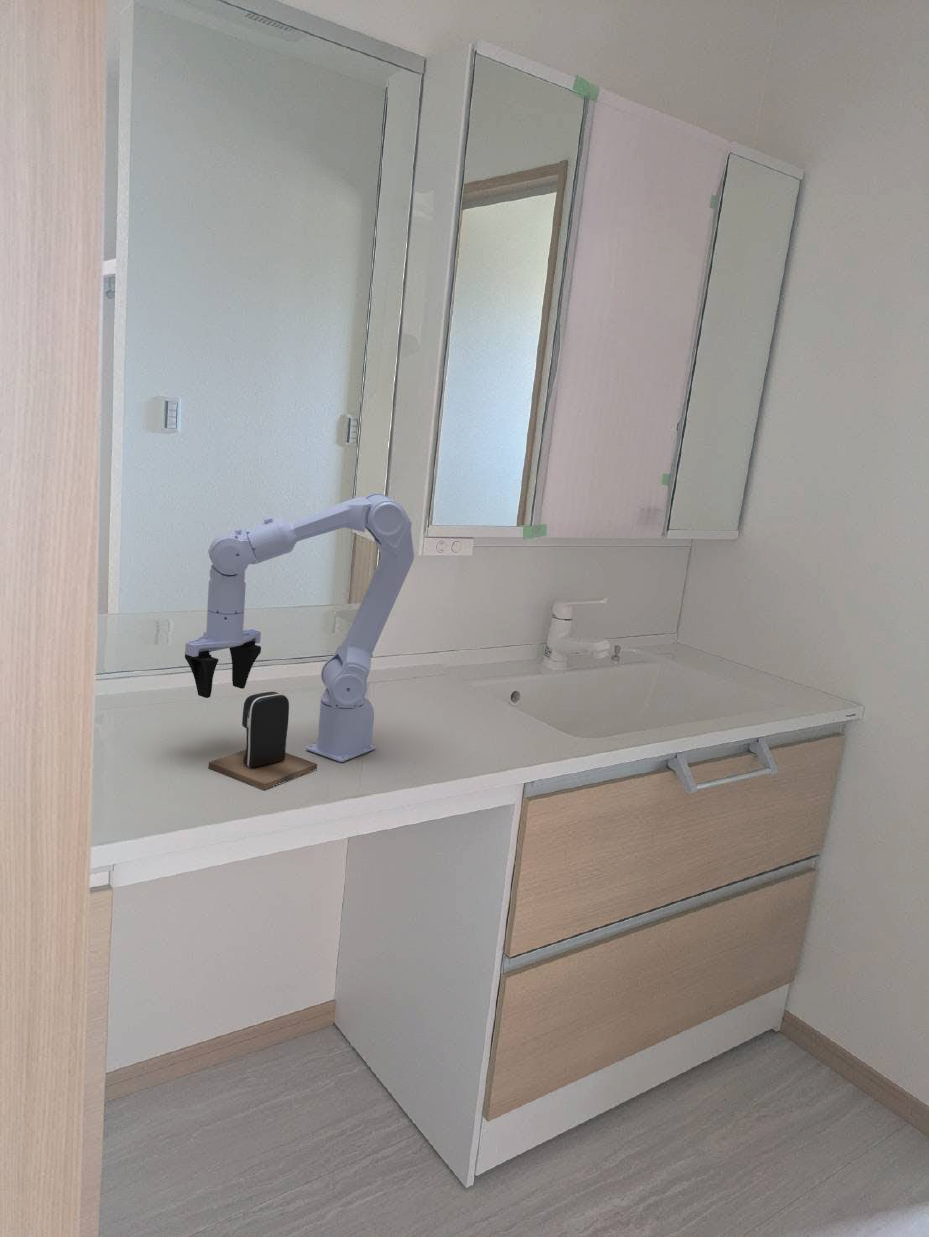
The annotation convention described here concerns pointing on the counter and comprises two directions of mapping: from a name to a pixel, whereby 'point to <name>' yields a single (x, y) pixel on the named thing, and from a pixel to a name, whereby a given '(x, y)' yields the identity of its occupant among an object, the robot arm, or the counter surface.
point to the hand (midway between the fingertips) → (221, 691)
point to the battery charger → (265, 728)
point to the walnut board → (262, 769)
